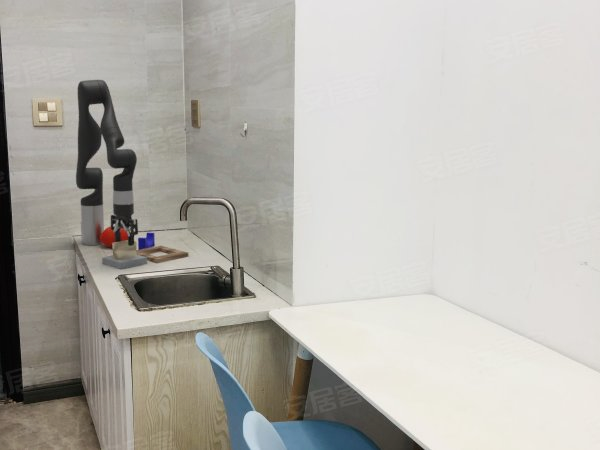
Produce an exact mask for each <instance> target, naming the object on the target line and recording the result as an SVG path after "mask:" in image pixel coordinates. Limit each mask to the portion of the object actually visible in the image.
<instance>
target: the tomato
mask: <svg viewBox="0 0 600 450" xmlns="http://www.w3.org/2000/svg"><path fill="white" fill-rule="evenodd" d="M120 232H121V241H126V240H128V234H127V232H126V231H125V230H124V229H123V228H122V229H121V231H120ZM100 241H101V242H102V243H103V245H104V246H106V247H108V248H112V243H115V232H114V231H113V230H111V226H107V227H106V228H104V231H103V232H102V233H101V236H100ZM121 241H120V242H121Z"/></svg>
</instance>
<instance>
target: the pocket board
mask: <svg viewBox="0 0 600 450" xmlns="http://www.w3.org/2000/svg"><path fill="white" fill-rule="evenodd" d="M136 252H137V255H140V256H144V257H147V262H151V263H155V264H159V263H164V262H167V261H168V262H169V261H173V260H178V259H183V258H186V257H189V252H187V251H183V250H180V249H176V248H171V247H167V246H164V245H157V246H154V247H151V248H146V249H140V250H138V249H136ZM155 253H164V254H163V255H152V254H155Z"/></svg>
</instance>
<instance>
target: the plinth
mask: <svg viewBox="0 0 600 450" xmlns="http://www.w3.org/2000/svg"><path fill="white" fill-rule="evenodd" d="M101 261H102V265H106V266H109V267H113V268H115V269H118V270H124V269H129V268H133V267H137V266H142V265H143V266H144V265H147V264H148V261H147V257H144V256H140V255H137V257H132V258H127V259H122V260H117V259H114V258H113V254H112V255H108V256H102V257H101Z"/></svg>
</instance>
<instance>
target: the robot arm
mask: <svg viewBox="0 0 600 450" xmlns="http://www.w3.org/2000/svg"><path fill="white" fill-rule="evenodd" d="M99 104H100V105H101V104H102V105H103V109H104V111H103V115H102V117H101V121H100V125H99V124H98V123H97V121H96V120H95V118H94V117H93V116H92V114H91V112H90V105H91V106H92V105H99ZM77 106H78V123H77V124H78V126H77V160H76V161H77V162H76V171H75V172H76V173H75V182H76V186H77V188H78V189H79V190H94V191H93V192H91V193H90V194H88V195H86V196H83V197H81V199H80V213H81V214H80V216H81V217H80V219H81V221H80V233H81V237H80V238H81V244H82V245H84V246H85V245H86V246H97V245H98V246H99V244H100V245H102V244H103V243H102V242H101V241H100V236H101V233H102V232H103V231H104V230H105V222H104V221H105V220H104V219H105V218H104V217H105V216H104V197H103V196H104V195H103V194H104V193H103V192H104V190H103V189H104V175H103V170H102V169H101V167H87V166H88V164H89V162H90V161H91V160H92V159H93V158H94V156H95V155H96V154H97V153H98V151H100V148H101V146H102V138H103V141H104V143H105V148H106V158H107V161H106V162H107V164H108V165H109V166H110V168H112V169H115V170H116V169H122V172H121V173H118V174H115V175H114V176H113V178H112V191H113V192H112V193H113V194H112V204H113V205H112V208H113V209H112V210H113V212H112V213H113V214H111V215H110V227H111V230H113V231H114V232H115V242H120V241H121V232H120V231H121V229H122V228H123V229H124V230H125V231H126V232H127V234H128V245H129V246H132V245H134V241H135V236H137V235H139V223H138V219H137V218H133V217H132V216H133V214H135V210H134V209H135V208H134V204H135V201H134V191H133V189H134V188H133V178H134V173H135V171H136V170H135V169H136V166H137V161H138V159H137V158H138V157H137V154H136V152H135V151H134V150H133V149H130V148H122V149H120V148H121V147H123V146H124V144H125V138H124V135H123V133H122V131H121V129H120V125H119V123H118V120H117V117H116V112H115V107H114V104H113V100H112V96H111V91H110V89H109V86H108V84H107V82H106V81H105V80H103V79H90V80H88V79H87V80H81V81H80V82H79V83H78V85H77ZM103 245H104V244H103Z"/></svg>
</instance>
